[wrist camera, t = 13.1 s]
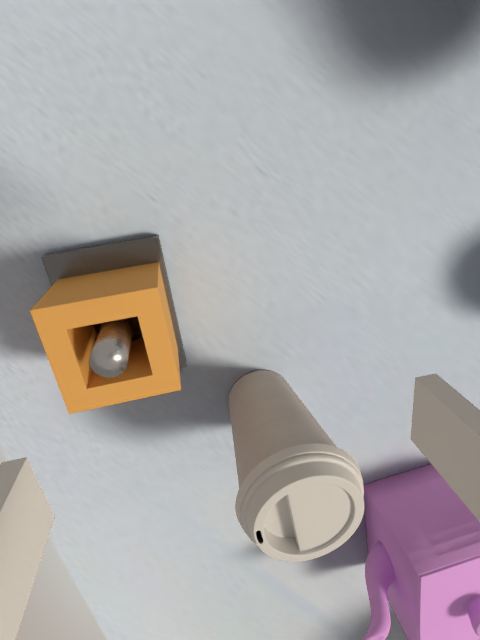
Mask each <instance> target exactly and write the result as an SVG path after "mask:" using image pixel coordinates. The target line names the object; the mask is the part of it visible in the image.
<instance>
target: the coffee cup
mask: <svg viewBox="0 0 480 640" xmlns="http://www.w3.org/2000/svg"><path fill="white" fill-rule="evenodd" d="M229 410H230V418H231V426H232V433H233V441H234V449H235V457H236V465H237V473H238V481H239V491H238V494H237V497H236V505H235V509H236V515H237V518H238V521H239V523H240V525H241V526H242V528H243V530H244V532H245V533H246V534H247V535H248V537H249V538H250V539H251V540H252V541H253V542H254V543H256V544H257V546H258V547H259V548H260V550H261V551H262V552H264V553H265V554H266V555H268V556H270V557H272V558H274V559H277V560H281V561H287V562H300V561H307V560H311V559H315V558H318V557H321V556H323V555H326V554H328V553H330V552H331V551H333V550H335V549H337V548H338V547H339V546H341V545H342V544H343V543H345V542H346V541H347V540H348V539H349V538H350V537H351V536H352V535H353V533H354V532H355V531H356V529H357V528H358V526H359V524H360V522H361V520H362V518H363V514H364V499H363V498H364V486H363V479H362V475H361V471H360V469H359V466H358V464H357V463H356V461H355V460H354V459H353V457H352V456H351V455H349V454H348V453H347V452H345V451H344V450H342V449H340V448H338V447H336V445H335V444H334V443H333V442H332V440H331V439H330V438H329V436H328V435H327V434H326V433H325V431H324V430H323V429H322V427H321V426H320V425H319V423H318V422H317V421H316V420H315V418H314V417H313V416H312V414H311V413H310V412H309V410H308V409H307V408H306V406H305V405H304V404H303V403H302V401H301V400H300V399H299V397H298V396H297V395H296V393H295V392H294V391H293V389H292V388H291V387H290V386H289V384H288V383H287V382H286V380H285V379H284V378H283V377H282V376H281V375H279V374H277V373H275V372H273V371H268V370H258V371H254V372H251V373H248V374H246V375H244V376H243V377H241V378H240V379H239V380H238V381H237V382H236V383H235V384H234V386H233V387H232V389H231V391H230V394H229Z"/></svg>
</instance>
